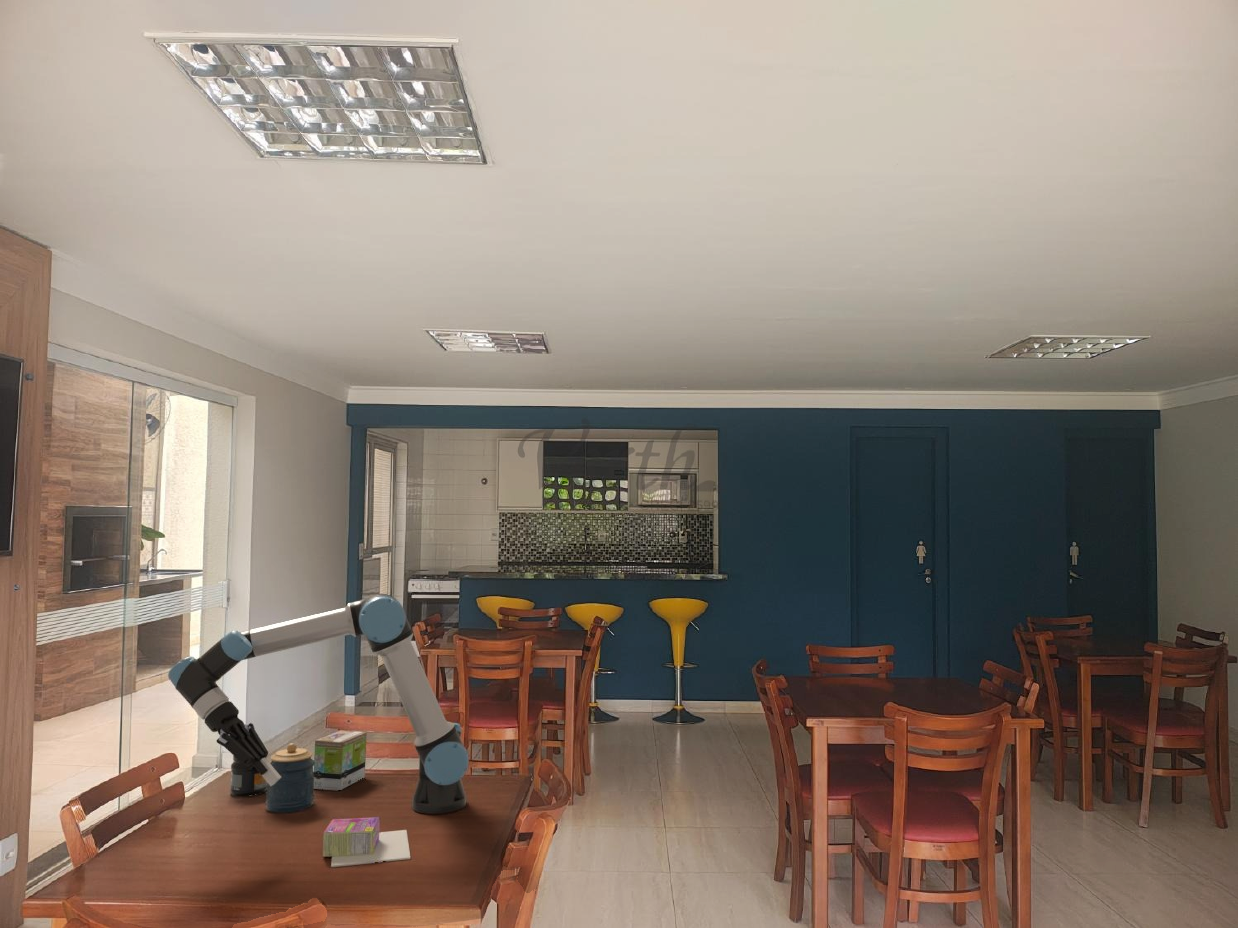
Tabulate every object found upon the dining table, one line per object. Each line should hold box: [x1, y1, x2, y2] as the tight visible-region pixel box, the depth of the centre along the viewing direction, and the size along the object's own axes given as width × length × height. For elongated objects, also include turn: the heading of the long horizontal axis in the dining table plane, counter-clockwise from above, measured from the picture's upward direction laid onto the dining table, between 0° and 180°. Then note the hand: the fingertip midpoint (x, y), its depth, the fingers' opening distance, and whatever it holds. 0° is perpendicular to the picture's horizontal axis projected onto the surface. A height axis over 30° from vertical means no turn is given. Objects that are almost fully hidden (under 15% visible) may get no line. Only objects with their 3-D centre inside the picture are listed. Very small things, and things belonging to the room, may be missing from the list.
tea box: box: [313, 730, 368, 791], centre depth 266 cm, size 15×10×15 cm
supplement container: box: [229, 754, 268, 797], centre depth 257 cm, size 10×10×12 cm
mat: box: [330, 829, 411, 868], centre depth 210 cm, size 18×20×1 cm
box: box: [322, 816, 381, 858], centre depth 209 cm, size 10×6×12 cm
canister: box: [265, 742, 315, 814], centre depth 244 cm, size 13×13×18 cm
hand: (276, 781), depth 210 cm, fingers closed
